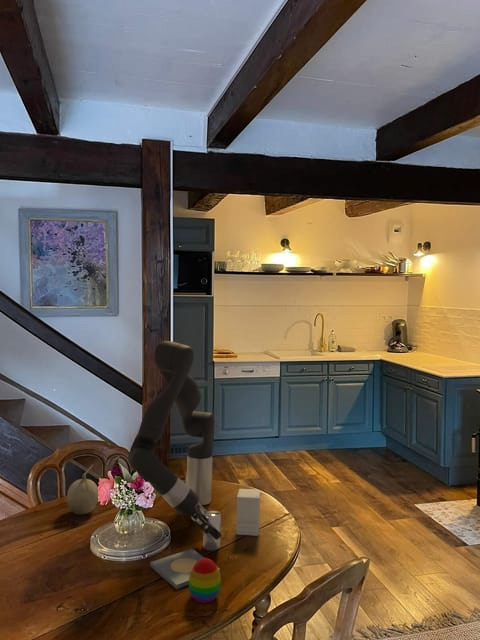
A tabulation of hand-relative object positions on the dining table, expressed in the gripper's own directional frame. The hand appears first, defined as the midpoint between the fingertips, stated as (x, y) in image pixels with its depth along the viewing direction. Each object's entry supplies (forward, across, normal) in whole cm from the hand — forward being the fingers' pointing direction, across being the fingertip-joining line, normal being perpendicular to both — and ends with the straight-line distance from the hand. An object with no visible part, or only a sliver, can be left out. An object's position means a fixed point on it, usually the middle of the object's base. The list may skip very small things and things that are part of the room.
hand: (217, 532), depth 164 cm
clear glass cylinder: (+2, 0, +4) cm, 5 cm away
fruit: (-27, +29, +33) cm, 51 cm away
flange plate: (-5, -13, +11) cm, 17 cm away
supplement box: (+11, +9, -5) cm, 15 cm away
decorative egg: (-2, -26, +8) cm, 28 cm away
